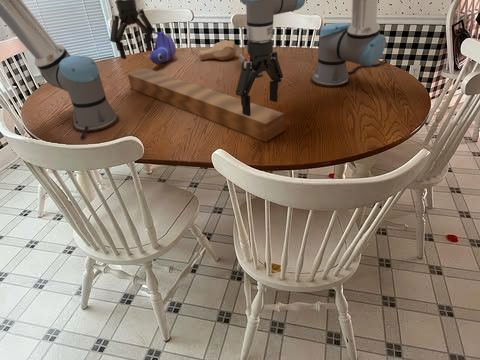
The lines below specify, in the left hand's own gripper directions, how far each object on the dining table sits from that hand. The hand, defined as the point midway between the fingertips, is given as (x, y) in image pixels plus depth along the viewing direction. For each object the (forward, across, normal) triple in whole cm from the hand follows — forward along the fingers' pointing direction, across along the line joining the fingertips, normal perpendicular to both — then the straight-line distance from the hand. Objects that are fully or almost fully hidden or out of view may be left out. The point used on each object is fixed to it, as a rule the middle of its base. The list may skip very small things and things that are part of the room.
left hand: (137, 54), depth 151 cm
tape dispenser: (+15, +45, -27) cm, 55 cm away
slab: (+15, -1, -35) cm, 38 cm away
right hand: (+6, -3, -68) cm, 69 cm away
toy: (+15, +27, +19) cm, 36 cm away
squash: (+15, +48, -2) cm, 50 cm away
